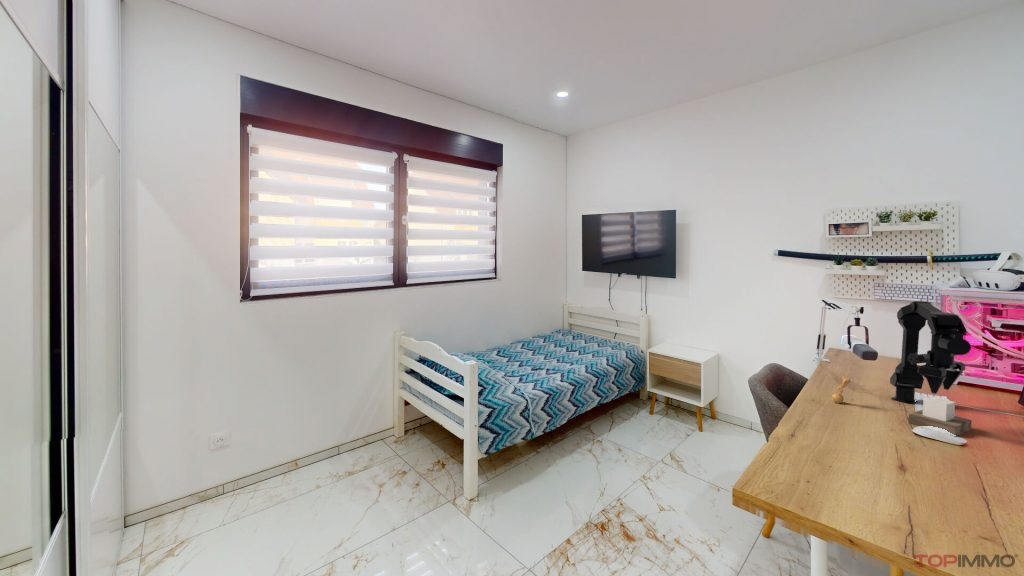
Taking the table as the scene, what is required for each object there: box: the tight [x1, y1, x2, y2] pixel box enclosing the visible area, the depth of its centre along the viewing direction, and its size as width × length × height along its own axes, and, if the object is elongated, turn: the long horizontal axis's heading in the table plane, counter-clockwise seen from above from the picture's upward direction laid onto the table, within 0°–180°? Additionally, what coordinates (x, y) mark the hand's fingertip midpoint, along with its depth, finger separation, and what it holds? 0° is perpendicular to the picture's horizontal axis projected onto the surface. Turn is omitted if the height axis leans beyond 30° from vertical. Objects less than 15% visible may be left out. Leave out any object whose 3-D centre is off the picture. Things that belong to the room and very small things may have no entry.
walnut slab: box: [908, 409, 972, 437], centre depth 141 cm, size 12×12×4 cm
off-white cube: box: [922, 396, 956, 421], centre depth 141 cm, size 6×6×6 cm
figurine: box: [831, 375, 851, 404], centre depth 164 cm, size 8×6×12 cm
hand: (940, 391), depth 141 cm, fingers open, 9 cm apart
